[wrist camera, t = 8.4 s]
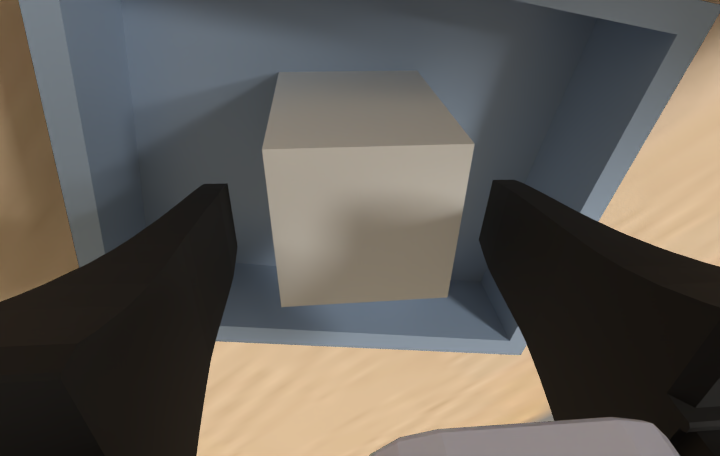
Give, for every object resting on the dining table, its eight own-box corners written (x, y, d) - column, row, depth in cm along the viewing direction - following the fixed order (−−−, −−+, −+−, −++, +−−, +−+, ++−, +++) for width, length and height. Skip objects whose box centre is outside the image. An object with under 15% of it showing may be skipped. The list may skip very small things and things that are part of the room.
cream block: (417, 70, 14) (474, 143, 9) (406, 189, 17) (447, 297, 12) (279, 71, 14) (262, 149, 9) (289, 194, 16) (281, 307, 11)
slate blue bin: (625, -12, 14) (724, 5, 10) (487, 288, 21) (520, 355, 18) (79, -136, 11) (-20, -166, 8) (133, 262, 18) (94, 335, 15)
